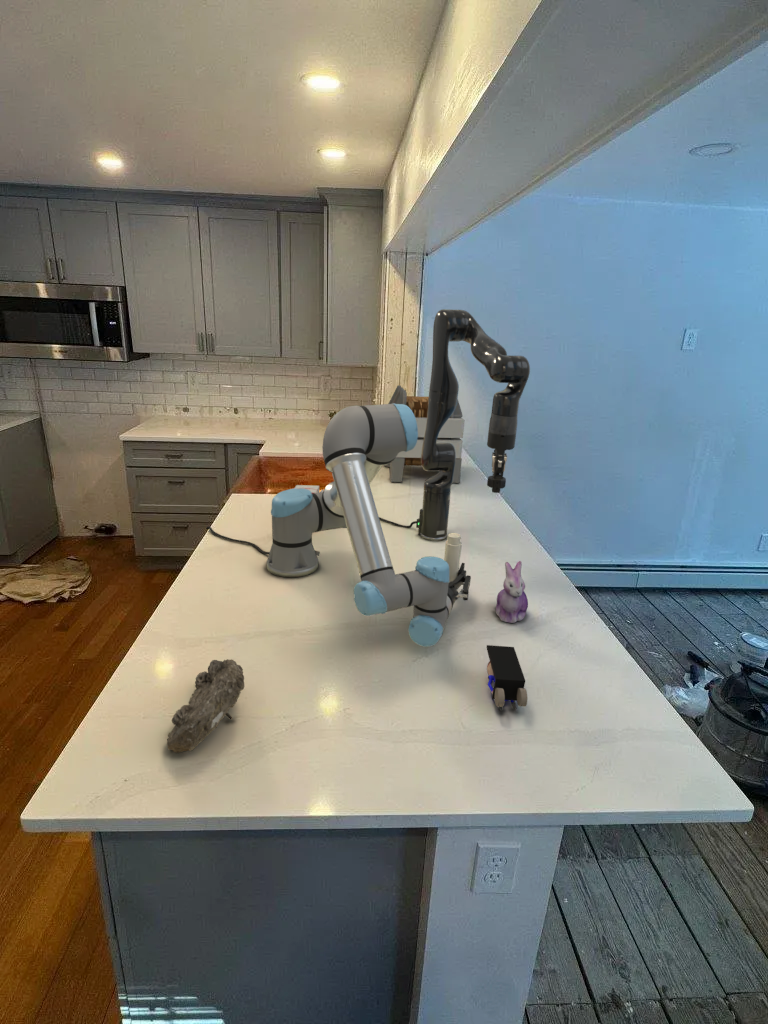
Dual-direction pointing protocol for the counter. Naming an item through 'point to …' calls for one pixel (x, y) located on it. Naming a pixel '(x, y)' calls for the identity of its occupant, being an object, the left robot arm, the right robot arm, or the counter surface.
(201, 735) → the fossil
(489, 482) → the lid
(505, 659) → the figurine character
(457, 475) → the transformer
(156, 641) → the counter surface
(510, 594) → the figurine
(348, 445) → the left robot arm
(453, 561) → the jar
